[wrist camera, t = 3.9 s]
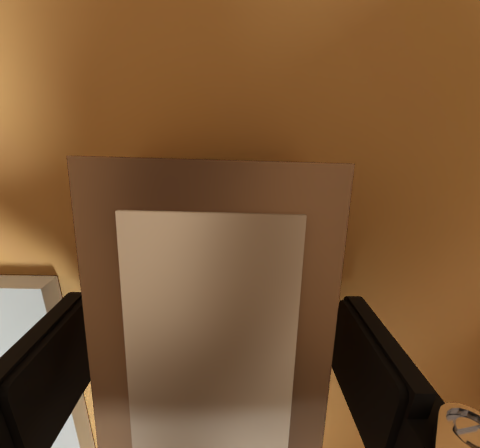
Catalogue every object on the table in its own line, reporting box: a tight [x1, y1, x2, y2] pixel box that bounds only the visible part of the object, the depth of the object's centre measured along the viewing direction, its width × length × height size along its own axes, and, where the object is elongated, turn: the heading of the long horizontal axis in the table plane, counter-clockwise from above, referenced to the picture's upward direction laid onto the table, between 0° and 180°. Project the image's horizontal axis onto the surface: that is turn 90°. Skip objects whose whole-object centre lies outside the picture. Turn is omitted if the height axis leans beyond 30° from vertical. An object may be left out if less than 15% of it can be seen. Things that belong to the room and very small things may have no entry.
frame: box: [67, 156, 355, 448], centre depth 9 cm, size 6×12×4 cm, turn 178°
